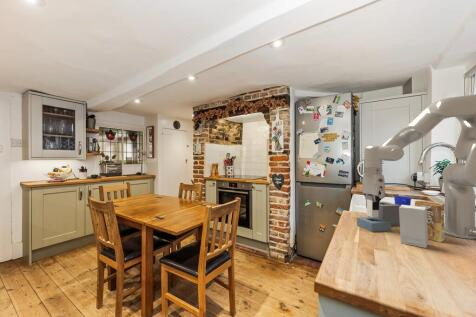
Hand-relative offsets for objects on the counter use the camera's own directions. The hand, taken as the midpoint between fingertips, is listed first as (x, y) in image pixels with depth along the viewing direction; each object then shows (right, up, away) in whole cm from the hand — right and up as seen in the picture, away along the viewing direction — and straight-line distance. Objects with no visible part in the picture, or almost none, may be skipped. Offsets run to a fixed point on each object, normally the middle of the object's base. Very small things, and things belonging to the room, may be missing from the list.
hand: (372, 208), depth 107 cm
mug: (+34, -10, +25) cm, 43 cm away
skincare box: (+4, -10, -20) cm, 22 cm away
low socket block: (0, -9, 0) cm, 9 cm away
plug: (0, -4, 0) cm, 4 cm away
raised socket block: (+11, -9, +9) cm, 17 cm away
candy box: (+16, -10, -14) cm, 23 cm away
